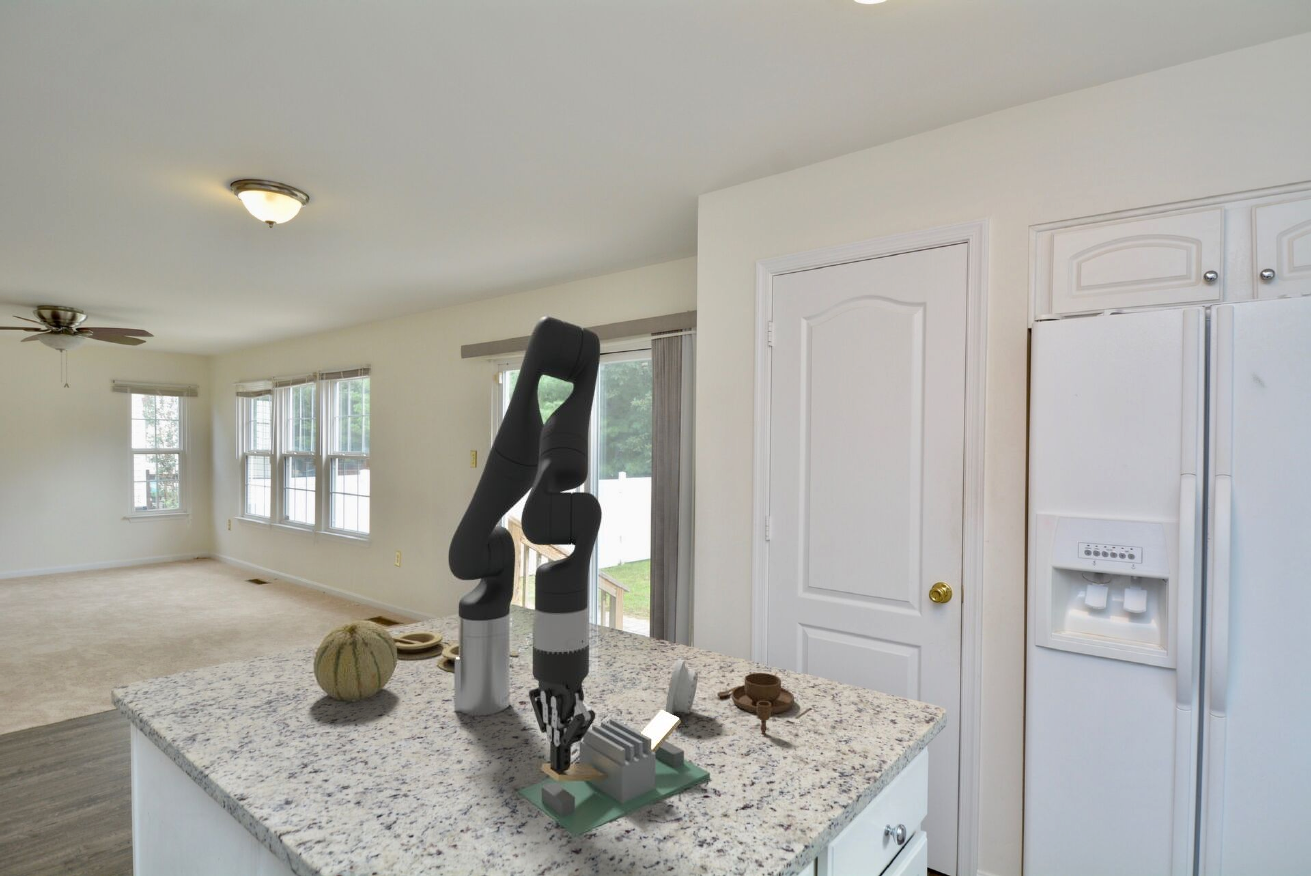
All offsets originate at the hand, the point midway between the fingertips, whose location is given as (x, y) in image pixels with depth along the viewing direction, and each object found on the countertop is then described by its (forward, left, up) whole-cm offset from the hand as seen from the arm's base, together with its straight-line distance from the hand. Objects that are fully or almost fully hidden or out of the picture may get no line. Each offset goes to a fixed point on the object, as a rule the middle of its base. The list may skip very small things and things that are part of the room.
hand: (560, 769), depth 92 cm
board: (+7, +7, -7) cm, 12 cm away
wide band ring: (-3, +22, -7) cm, 23 cm away
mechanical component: (+15, +34, -7) cm, 38 cm away
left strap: (+4, +4, -3) cm, 7 cm away
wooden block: (+9, +9, -3) cm, 13 cm away
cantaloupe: (-47, +37, -7) cm, 60 cm away
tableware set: (-40, +62, -8) cm, 74 cm away
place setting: (+29, +38, -7) cm, 48 cm away
